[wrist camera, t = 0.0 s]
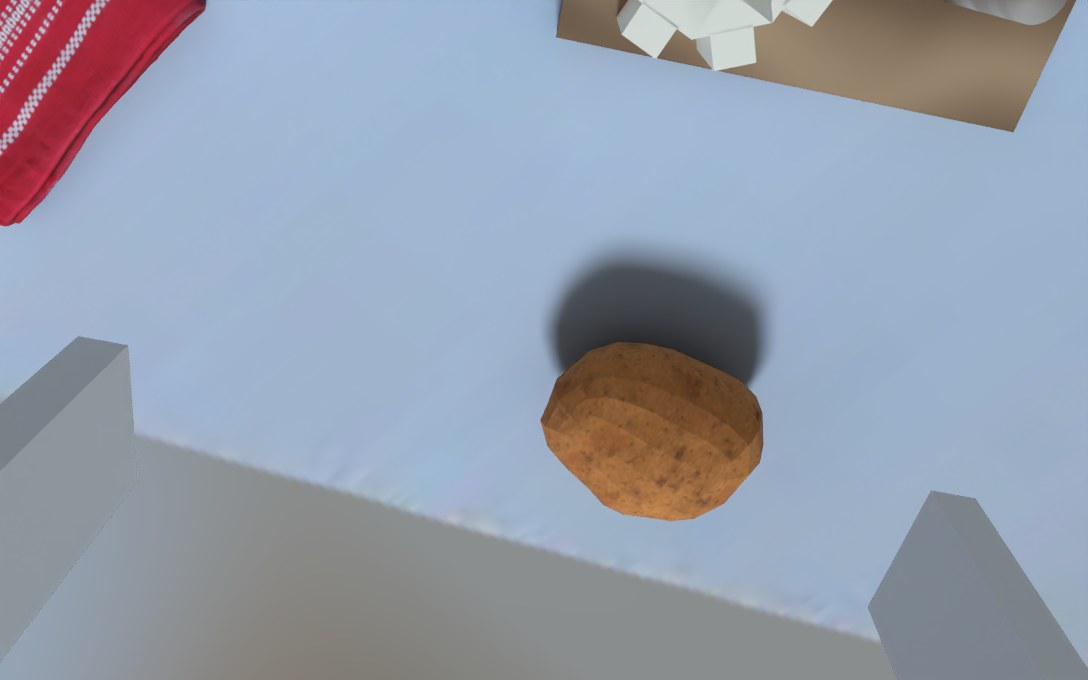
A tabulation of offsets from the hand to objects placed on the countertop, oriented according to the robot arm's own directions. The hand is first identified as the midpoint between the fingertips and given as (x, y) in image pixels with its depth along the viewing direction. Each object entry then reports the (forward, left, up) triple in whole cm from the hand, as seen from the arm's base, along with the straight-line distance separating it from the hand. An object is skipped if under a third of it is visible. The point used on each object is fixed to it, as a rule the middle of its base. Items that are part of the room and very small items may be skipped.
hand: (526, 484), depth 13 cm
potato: (+15, +8, -28) cm, 33 cm away
